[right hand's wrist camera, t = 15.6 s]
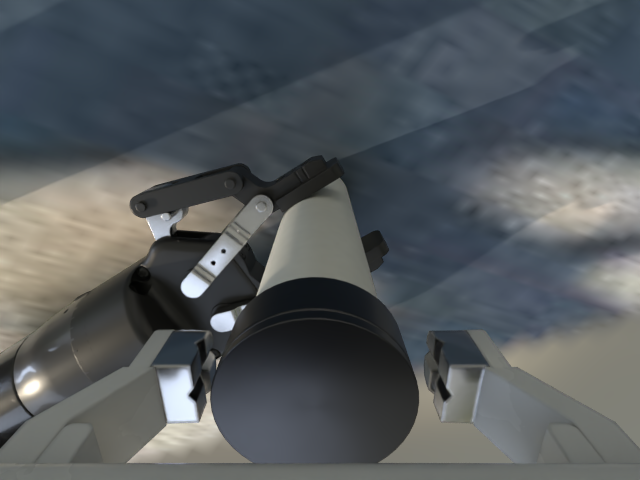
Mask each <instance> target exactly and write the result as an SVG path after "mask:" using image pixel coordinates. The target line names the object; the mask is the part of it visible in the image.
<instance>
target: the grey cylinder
mask: <svg viewBox="0 0 640 480" xmlns="http://www.w3.org/2000/svg"><path fill="white" fill-rule="evenodd" d="M306 277H325V278H333V279H338V280H342V281H346V282H348V283H351V284H354V285H356V286H358V287H360V288H362V289H364V290H366V291H368V292H369V293H371V294H372V295H373V296H375V297H376V298H377V294H376V291H375V287H374V283H373V280H372V276H371V273H370V269H369V266H368V262H367V259H366V255H365V252H364V248H363V244H362V241H361V237H360V234H359V230H358V227H357V223H356V220H355V216H354V213H353V209H352V205H351V202H350V198H349V195H348V191H347V188H346V186H345V184H344V182H343V181H342V180H341V179H340V178H338V179H337V180H335V181H334V182H332V183H330V184H329V185H327V186H325V187H324V188H322V189H320V190H319V191H317V192H316V193H314V194H312V195H311V196H309V197H307V198H306V199H304V200H302V201H301V202H299V203H297V204H295V205H294V206H292V207H291V208H289V209H287V210H286V211H284V214H283V217H282V220H281V223H280V226H279V229H278V232H277V235H276V238H275V241H274V244H273V247H272V250H271V253H270V256H269V259H268V262H267V265H266V268H265V271H264V274H263V277H262V280H261V283H260V286H259V289H258V292H257V295H259V294H260V293H262V292H263V291H265V290H267V289H269V288H271V287H273V286H275V285H277V284H280V283H282V282H285V281H289V280H293V279H298V278H306ZM257 295H256V296H257ZM377 299H378V298H377Z"/></svg>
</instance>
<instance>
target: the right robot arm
mask: <svg viewBox="0 0 640 480" xmlns="http://www.w3.org/2000/svg"><path fill="white" fill-rule="evenodd" d="M213 343H214V342H213V336H212V333H211V331H210V330H157V331H155V332H154V333H153V334H152V335H151V337H150V338H149V340H148V341H147V342H146V344H145V345H144V346H143V348H142V349H141V351H140V352H139V353H138V355H137V356H136V357H135V359H134V360H133V362H132V363H131V364H130V366H129V367H122V368H120V369H119V370H117V371H115V372H113V373H111V374H110V375H108V376H106V377H104V378H102V379H101V380H99V381H97V382H95V383H93V384H92V385H90V386H88V387H86V388H85V389H83V390H81V391H79V392H77V393H76V394H74V395H72V396H70V397H68V398H67V399H65V400H63V401H61V402H59V403H58V404H56V405H54V406H52V407H50V408H49V409H47V410H45V411H43V412H42V413H40V414H38V415H36V416H34V417H33V418H31V419H29V420H27V421H25V423H24V424H23V425H22V426H21V427H20V428H19V429H18V430H17V431H16V432H15V433H14V434H13V436H12V437H11V438H10V439H9V440H8V441H7V442H6V443H5V444H4V445H3V446H2V447H1V449H0V480H640V448H639V447H638V446H637V445H636V444H635V443H634V442H633V441H632V440H631V439H630V437H629V436H628V435H627V434H626V433H625V432H624V431H623V430H622V429H621V428H620V427H619V426H618V424H617V423H616V422H614V421H613V420H611V419H609V418H607V417H605V416H604V415H602V414H600V413H598V412H597V411H595V410H593V409H591V408H589V407H588V406H586V405H584V404H582V403H580V402H579V401H577V400H575V399H573V398H571V397H570V396H568V395H566V394H564V393H563V392H561V391H559V390H557V389H555V388H554V387H552V386H550V385H548V384H546V383H545V382H543V381H541V380H539V379H538V378H536V377H534V376H532V375H530V374H529V373H527V372H525V371H523V370H521V369H520V368H518V367H511V366H510V364H509V363H508V362H507V360H506V359H505V357H504V356H503V355H502V353H501V352H500V351H499V349H498V348H497V347H496V345H495V344H494V342H493V341H492V340H491V338H490V337H489V336H488V334H487V333H486V332H485V331H484V330H482V329H478V330H454V331H429V333H428V335H427V342H426V343H427V346H428V348H429V350H430V351H429V352H428V353H427V354H426V355H425V359H424V376H425V380H426V384H427V387H428V390H429V391H431V392H432V393H433V394H434V402H433V403H434V405H435V408H436V411H437V413H438V416H439V418H440V421H441V422H442V423H474V426H475V427H476V428H477V429H478V430H479V431H480V432H482V433H483V434H484V435H485V436H486V437H487V438H488V439H489V440H490V441H491V442H492V443H493V444H494V445H495V446H497V447H498V448H499V449H500V450H501V451H502V452H503V453H504V454H505V455H506V456H507V457H508V458H509V459H510V460H512V461H513V462H514V463H127V462H128V461H129V460H130V459H131V458H132V457H133V456H134V455H135V454H136V453H137V452H138V451H139V450H140V449H142V448H143V447H144V446H145V445H146V444H147V443H148V442H149V441H150V440H151V439H152V438H153V437H154V436H155V435H157V434H158V433H159V432H160V431H161V430H162V429H163V428H164V427H165V426H166V423H199V421H200V419H201V416H202V413H203V411H204V408H205V406H206V403H207V401H206V394H207V393H208V392H209V391H211V386H212V381H213V377H214V375H215V372H216V358H215V355H214V354H213V353H212V352H211V351H210V350H211V348H212V346H213Z"/></svg>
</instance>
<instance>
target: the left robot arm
mask: <svg viewBox="0 0 640 480" xmlns="http://www.w3.org/2000/svg"><path fill="white" fill-rule="evenodd" d="M343 174H344V171H343V168H342V166H341V165H340V163H339V161H338V160H337V158H333V159H331V160H329V161H328V162H326V161H325V160H324V158H323V157H322V155H321V156H315V157H311V158H310V159H308V160H306V161H305V162H303V163H302V164H300V165H298V166H297V167H295V168H294V169H292V170H291V171H289V172H287V173H286V174H284V175H283V176H281V177H279V178H278V179H276V180H274V181H272V182H265V181H262V180H260V179H259V178H257V177H256V176H255V175H253V174H252V173H251V171H250V169H249V168H248V167H247V166H246V165H244V164H241V163H238V164H234V165H230V166H227V167H223V168H219V169H215V170H211V171H208V172H204V173H200V174H196V175H193V176H189V177H185V178H181V179H178V180H174V181H170V182H166V183H162V184H159V185H155V186H153V187H151V188H149V189H147V190H145V191H143V192H142V193H140V194H138V195H136V196H134V197H133V198H132V199H131V201H130V209H131V211H132V212H133V213H134V214H135V215H136V216H138V217H140V218H146V220H147V222H148V224H149V227H150V229H151V231H152V233H153V235H154V238H155V240H156V241H155V242H154V243H153V244H152V246H151V248H150V250H149V253H148V254H147V256H146V257H144V258H142V259H141V260H139V261H138V262H136V263H135V264H133V265H131V266H130V267H128V268H127V269H125V270H123V271H122V272H120V273H119V274H117V275H115V276H114V277H112V278H111V279H109V280H108V281H106V282H104V283H103V284H101V285H100V286H98V287H96V288H95V289H93V290H92V291H89V292H87V293H84V294H82V295H81V296H79V297H77V298H76V299H75V300H74V301H73V303H71V304H70V305H68V306H67V307H65V308H63V309H62V310H60V311H59V312H58V313H56V314H55V315H53V316H52V317H51V318H50V319H49V320H48V321H46V322H45V323H44V324H43V325H42V326H41V327H40V328H39V329H37V330H36V331H34V332H33V333H31V334H30V335H28V336H26V337H25V338H23V339H22V340H20V341H18V342H17V343H15V344H14V345H12V346H11V347H9V348H7V349H6V350H4V351H3V352H1V353H0V449H1V447H2V446H3V445H4V444H5V443H6V442H7V441H8V440H9V439H10V438H11V437H12V436H13V434H14V433H15V432H16V431H17V430H18V429H19V428H20V427H21V426H22V425H23V424H24V423H25V421H27V420H29V419H31V418H33V417H34V416H36V415H38V414H40V413H42V412H43V411H45V410H47V409H49V408H50V407H52V406H54V405H56V404H58V403H59V402H61V401H63V400H65V399H67V398H68V397H70V396H72V395H74V394H76V393H77V392H79V391H81V390H83V389H85V388H86V387H88V386H90V385H92V384H93V383H95V382H97V381H99V380H101V379H102V378H104V377H106V376H108V375H110V374H111V373H113V372H115V371H117V370H119V369H120V368H122V367H129V366H130V364H131V363H132V362H133V360H134V359H135V357H136V356H137V355H138V353H139V352H140V351H141V349H142V348H143V346H144V345H145V344H146V342H147V341H148V340H149V338H150V337H151V335H152V334H153V333H154V332H155V331H157V330H210V331H211V333H212V336H213V342H214V343H213V346H212V348H211V350H210V351H211V352H212V353H213V354H214V355H215V358H216V359H217V358H219V357H220V356H222V354H223V352H224V349H225V346H226V344H227V341H228V339H229V336H230V334H231V331H232V328H233V326H234V324H235V321H236V319H237V318H238V316H239V314H240V313H241V311H242V310H243V309H244V308H245V306H246V305H247V304H248V303H249V302H250V301H251V300H253V299H254V298H255V297H256V295H257V292H258V289H259V286H260V283H261V280H262V277H263V274H264V271H265V267H264V266H263V265H261V264H260V263H259V262H258V261H257V260H256V259H255V256H254V254H253V251H252V249H251V247H250V246H249V244H248V243H247V241H248V240H249V239H250V237H251V236H252V235H253V234H254V233H255V231H256V230H257V229H258V228H259V227H260V226H261V225H262V223H263V222H264V221H265V220H266V219H267V218H268V217H269V216H270V214H271V213H273V212H275V211H276V210H278V209H281V211H282V212H284V211H286V210H287V209H289V208H291V207H292V206H294V205H295V204H297V203H299V202H301V201H302V200H304V199H306V198H307V197H309V196H311V195H312V194H314V193H316V192H317V191H319V190H320V189H322V188H324V187H325V186H327V185H329V184H330V183H332V182H334V181H335V180H337V179H338V178H340V177H341V176H342V175H343ZM229 196H234V197H235V198H236V199H238V200H239V201H241V202H242V203H243V204H245V206H244V207H243V208H242V209H241V210H240V211H239V213H238V214H237V215H236V216H235V217H234V218H233V220H232V221H231V222H230V223H229V224H228V226H227V227H226V228H225V229H224V230H223V231H222V233H212V232H198V231H184V230H177V229H176V223H177V222H179V221H180V220H181V219H182V218H184V217H185V216H186V215H187V213H188V207H190V206H194V205H198V204H201V203H205V202H209V201H213V200H217V199H221V198H225V197H229ZM361 241H362V244H363V248H364V252H365V255H366V259H367V262H368V266H369V269H370V273H371V272H372V271H374V270H376V269H378V268H379V266H380V265H381V264H382V263H383V262H384V261H383V259H382V257H383V256H384V255H385V254H387V252H388V251H389V248H388V246H387V244H386V242H385V240H384V238H383V236H382V235H381V233H380V231H378V230H377V231H373V232H371V233H369V234H367V235H366V236H364V237H362V238H361Z"/></svg>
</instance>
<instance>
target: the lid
mask: <svg viewBox="0 0 640 480" xmlns="http://www.w3.org/2000/svg"><path fill="white" fill-rule="evenodd" d="M210 400H211V408H212V413H213V416H214V420H215V422H216V424H217V426H218V428H219V431H220V432H221V433H222V435H223V436H224V438H225V439H226V441H227V442H228V443H229V444H230V445H231V446H232V447H233V448H234V449H235V450H236V451H237V452H239V453H240V454H241V455H242V456H244V457H245V458H247V459H248V460H249V461H251V462H253V463H378V462H380V461H381V460H383V459H384V458H386V457H387V456H389V455H390V454H391V453H392V452H393V451H395V450H396V449H397V448H398V447H399V445H400V444H401V443H402V442H403V441H404V440H405V438H406V437H407V436H408V434H409V433H410V431H411V429H412V427H413V425H414V422H415V419H416V416H417V413H418V406H419V390H418V385H417V380H416V377H415V374H414V372H413V369H412V366H411V363H410V360H409V357H408V354H407V351H406V348H405V345H404V342H403V339H402V336H401V333H400V330H399V328H398V325H397V323H396V321H395V319H394V317H393V316H392V314H391V313H390V311H389V310H388V309H387V308H386V306H385V305H384V304H383V303H382V302H381V301H380V300H378V299H377V298H376V297H375V296H373V295H372V294H371V293H369V292H368V291H366V290H364V289H362V288H360V287H358V286H356V285H354V284H351V283H348V282H346V281H342V280H338V279H333V278H325V277H306V278H298V279H293V280H289V281H285V282H282V283H280V284H277V285H275V286H273V287H271V288H269V289H267V290H265V291H263V292H262V293H260V294H259V295H257V296H256V297H255V298H254V299H253V300H251V301H250V302H249V303H248V304H247V305H246V306H245V308H244V309H243V310H242V311H241V313H240V314H239V316H238V318H237V319H236V321H235V324H234V326H233V328H232V331H231V334H230V336H229V339H228V341H227V344H226V346H225V349H224V352H223V354H222V357H221V359H220V362H219V364H218V367H217V370H216V372H215V375H214V377H213V381H212V386H211V396H210Z"/></svg>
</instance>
